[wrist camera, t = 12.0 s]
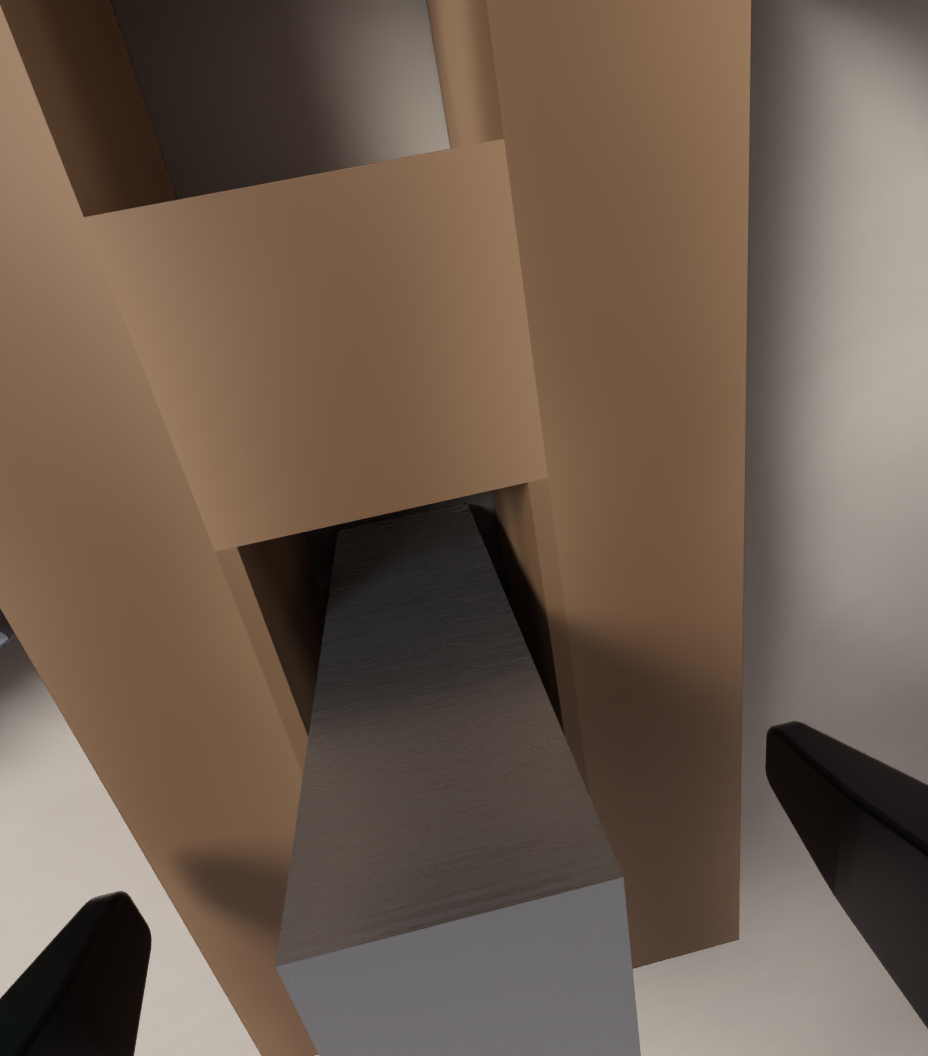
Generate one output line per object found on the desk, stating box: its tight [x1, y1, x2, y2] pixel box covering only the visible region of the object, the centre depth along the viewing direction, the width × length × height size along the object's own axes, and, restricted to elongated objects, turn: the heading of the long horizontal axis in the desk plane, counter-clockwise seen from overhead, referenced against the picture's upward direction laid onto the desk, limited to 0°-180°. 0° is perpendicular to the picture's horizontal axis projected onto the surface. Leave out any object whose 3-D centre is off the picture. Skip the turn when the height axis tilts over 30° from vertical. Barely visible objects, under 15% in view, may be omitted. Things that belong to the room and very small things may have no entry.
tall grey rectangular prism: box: [275, 503, 641, 1056], centre depth 9 cm, size 2×6×8 cm, turn 10°
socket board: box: [0, 0, 751, 1056], centre depth 9 cm, size 9×19×4 cm, turn 11°
